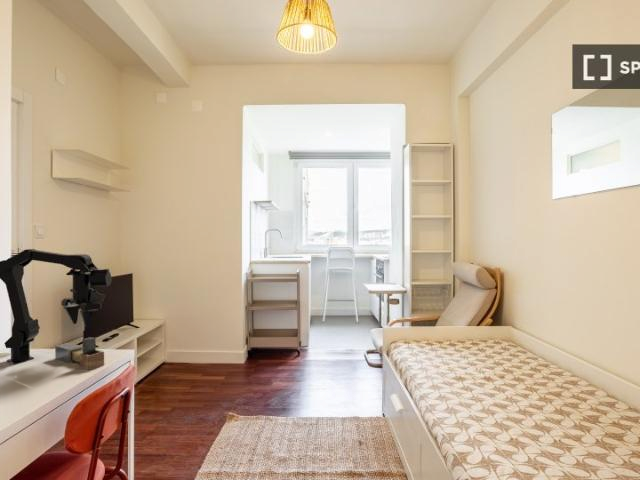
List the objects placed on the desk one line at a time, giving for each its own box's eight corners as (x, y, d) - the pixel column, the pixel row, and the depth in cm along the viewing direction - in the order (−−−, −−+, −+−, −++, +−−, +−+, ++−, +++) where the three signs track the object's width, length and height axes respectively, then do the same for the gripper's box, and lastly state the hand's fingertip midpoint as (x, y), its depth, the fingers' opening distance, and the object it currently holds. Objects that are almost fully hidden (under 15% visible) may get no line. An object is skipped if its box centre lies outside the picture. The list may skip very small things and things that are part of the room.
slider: (67, 358, 141) (67, 335, 140) (76, 355, 143) (76, 333, 143) (89, 365, 133) (89, 340, 133) (98, 362, 136) (98, 338, 136)
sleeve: (55, 358, 143) (55, 345, 143) (69, 354, 147) (69, 342, 147) (69, 362, 138) (69, 349, 138) (83, 358, 143) (82, 346, 143)
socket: (80, 366, 134) (80, 353, 134) (95, 362, 139) (95, 349, 139) (89, 369, 131) (89, 356, 131) (104, 365, 136) (104, 351, 136)
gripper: (114, 285, 147) (114, 324, 147) (89, 282, 156) (89, 318, 156) (85, 289, 137) (85, 330, 137) (60, 285, 146) (60, 323, 147)
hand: (81, 325), depth 145 cm, fingers open, 9 cm apart
